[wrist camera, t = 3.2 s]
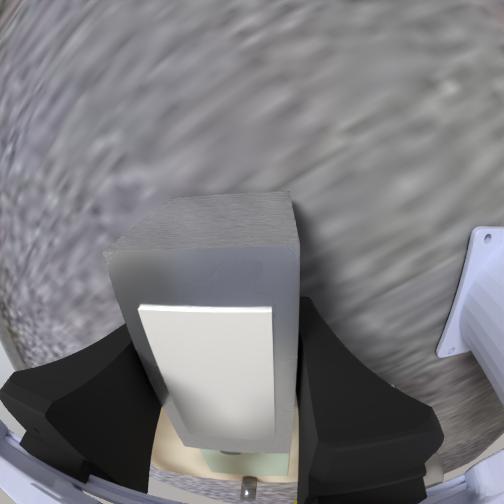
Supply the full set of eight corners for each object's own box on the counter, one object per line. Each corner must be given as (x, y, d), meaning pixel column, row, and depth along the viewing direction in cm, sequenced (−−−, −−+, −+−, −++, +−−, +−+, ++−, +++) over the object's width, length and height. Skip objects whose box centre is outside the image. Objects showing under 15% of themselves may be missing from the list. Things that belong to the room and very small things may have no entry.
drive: (289, 191, 10) (300, 247, 5) (289, 369, 14) (290, 455, 9) (172, 198, 10) (100, 253, 6) (206, 367, 14) (184, 448, 9)
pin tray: (393, 384, 15) (407, 428, 11) (349, 469, 21) (352, 496, 18) (99, 375, 17) (79, 410, 14) (159, 461, 23) (151, 486, 20)
